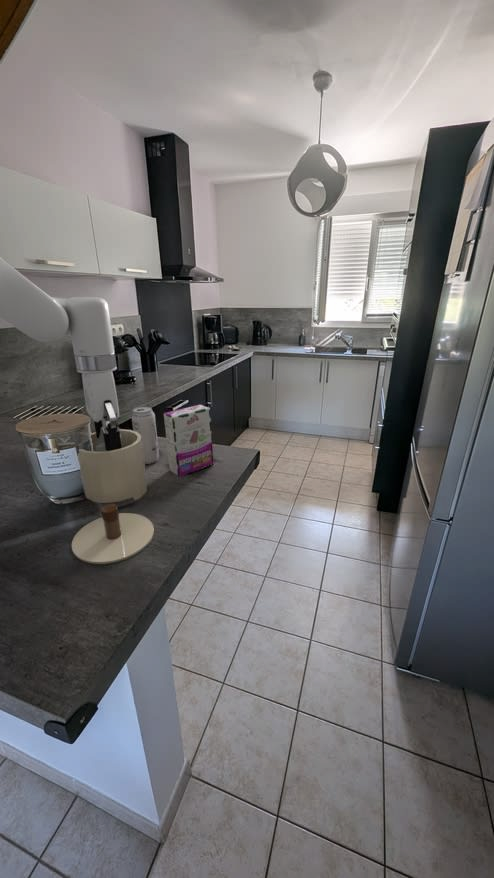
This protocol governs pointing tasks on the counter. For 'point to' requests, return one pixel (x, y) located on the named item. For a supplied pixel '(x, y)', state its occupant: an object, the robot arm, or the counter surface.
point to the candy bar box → (189, 439)
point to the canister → (114, 470)
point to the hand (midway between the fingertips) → (108, 442)
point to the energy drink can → (146, 432)
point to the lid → (112, 537)
